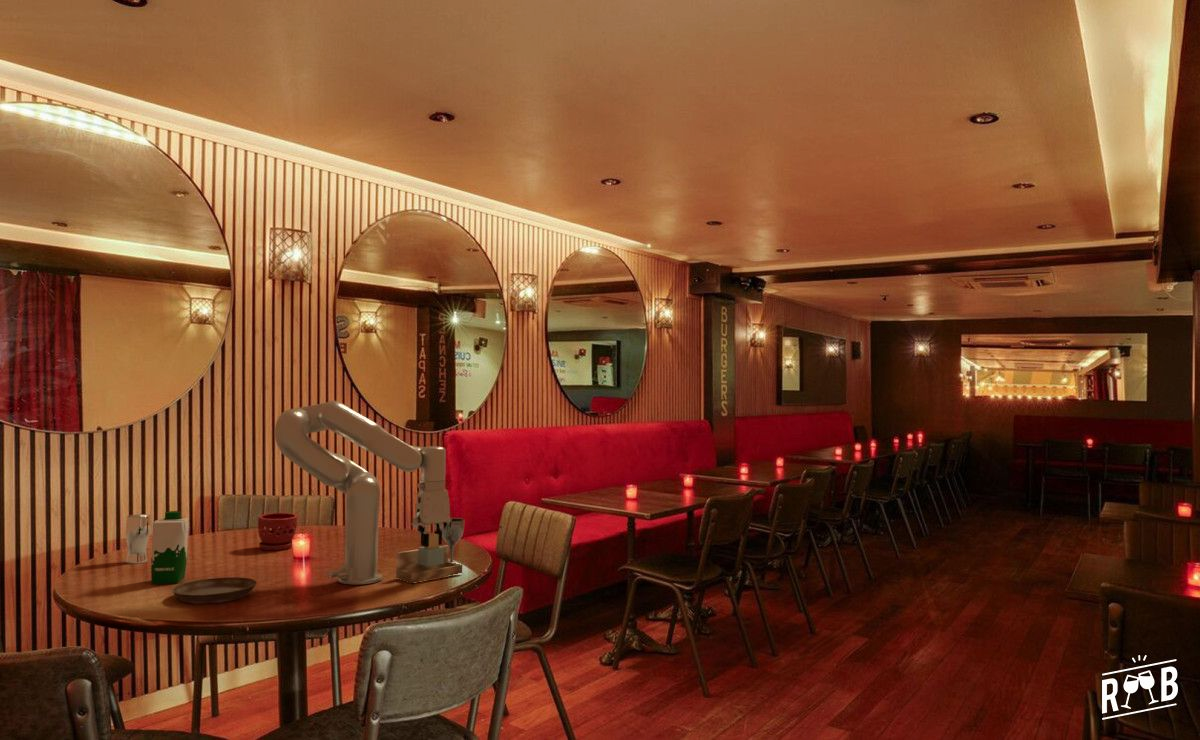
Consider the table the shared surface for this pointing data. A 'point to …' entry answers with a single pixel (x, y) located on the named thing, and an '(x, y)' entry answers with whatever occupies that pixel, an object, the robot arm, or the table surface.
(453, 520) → the wine glass
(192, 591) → the plant saucer
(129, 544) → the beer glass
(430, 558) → the grey square block
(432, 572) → the board
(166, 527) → the milk carton
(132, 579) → the table surface
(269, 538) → the plant pot
